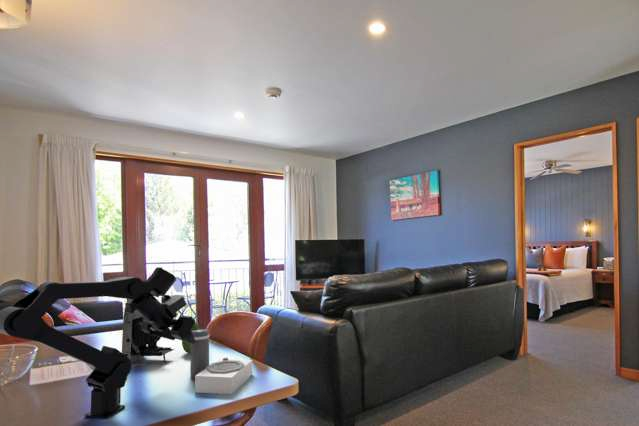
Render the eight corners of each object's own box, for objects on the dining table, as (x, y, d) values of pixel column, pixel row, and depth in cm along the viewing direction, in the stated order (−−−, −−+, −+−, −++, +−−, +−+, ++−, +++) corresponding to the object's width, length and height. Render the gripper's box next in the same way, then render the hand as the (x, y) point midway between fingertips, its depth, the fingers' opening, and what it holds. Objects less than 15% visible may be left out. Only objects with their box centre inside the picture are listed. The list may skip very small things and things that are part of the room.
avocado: (180, 352, 147) (180, 321, 148) (201, 349, 150) (201, 318, 151) (183, 357, 140) (183, 324, 141) (205, 354, 143) (205, 322, 144)
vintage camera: (158, 368, 130) (162, 309, 132) (119, 364, 133) (123, 307, 135) (174, 360, 139) (177, 305, 141) (138, 357, 142) (141, 303, 144)
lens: (203, 380, 115) (204, 333, 116) (186, 379, 116) (186, 332, 117) (212, 374, 121) (212, 329, 122) (195, 373, 122) (196, 328, 123)
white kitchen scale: (231, 394, 104) (231, 375, 104) (195, 392, 106) (195, 373, 106) (252, 374, 120) (252, 358, 120) (220, 373, 122) (220, 356, 122)
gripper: (189, 288, 107) (219, 320, 115) (150, 285, 117) (180, 315, 125) (165, 321, 99) (198, 354, 108) (125, 316, 109) (159, 345, 118)
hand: (184, 340), depth 115 cm, fingers open, 9 cm apart
